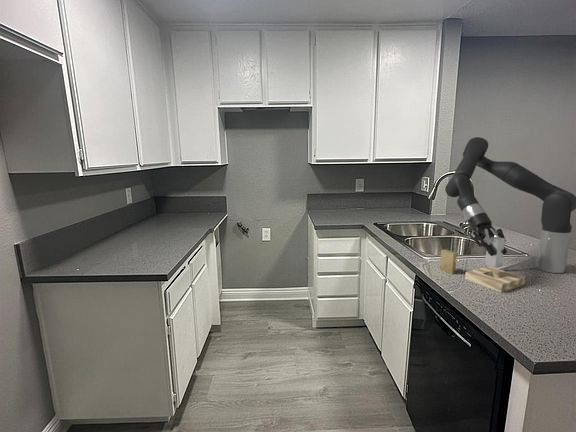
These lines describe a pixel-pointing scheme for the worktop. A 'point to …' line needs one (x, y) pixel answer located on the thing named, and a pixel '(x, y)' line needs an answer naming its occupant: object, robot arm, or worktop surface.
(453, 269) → the light brown wooden block
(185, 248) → the worktop surface
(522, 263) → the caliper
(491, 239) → the square bit
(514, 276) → the socket block
